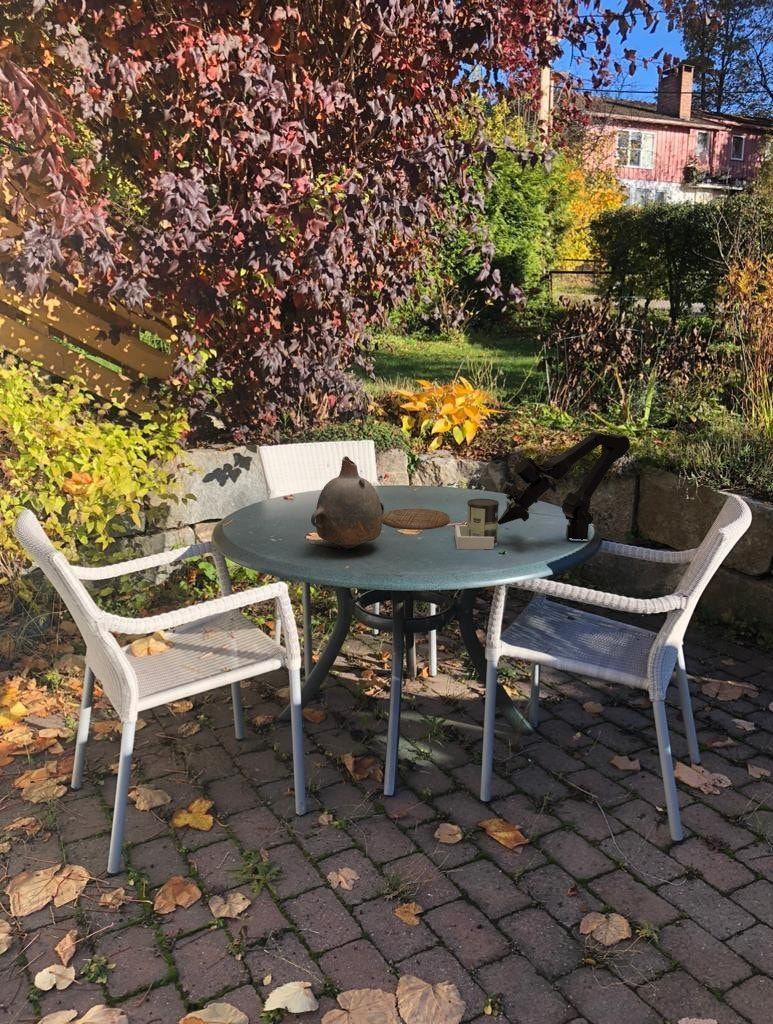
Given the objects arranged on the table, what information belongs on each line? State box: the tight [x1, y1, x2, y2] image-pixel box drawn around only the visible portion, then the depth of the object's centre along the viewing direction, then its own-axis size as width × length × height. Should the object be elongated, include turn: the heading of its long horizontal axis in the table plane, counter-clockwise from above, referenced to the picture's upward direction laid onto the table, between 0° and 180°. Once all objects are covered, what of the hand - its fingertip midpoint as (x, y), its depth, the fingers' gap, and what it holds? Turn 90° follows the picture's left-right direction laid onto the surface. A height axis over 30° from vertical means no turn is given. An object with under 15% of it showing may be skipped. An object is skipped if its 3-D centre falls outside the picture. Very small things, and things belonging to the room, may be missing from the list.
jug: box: [310, 455, 385, 550], centre depth 254 cm, size 24×21×30 cm
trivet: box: [382, 508, 450, 531], centre depth 292 cm, size 25×25×2 cm
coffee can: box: [466, 498, 500, 547], centre depth 262 cm, size 10×10×14 cm
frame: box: [454, 524, 495, 550], centre depth 264 cm, size 12×15×4 cm
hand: (498, 523), depth 262 cm, fingers closed, pressing on coffee can
